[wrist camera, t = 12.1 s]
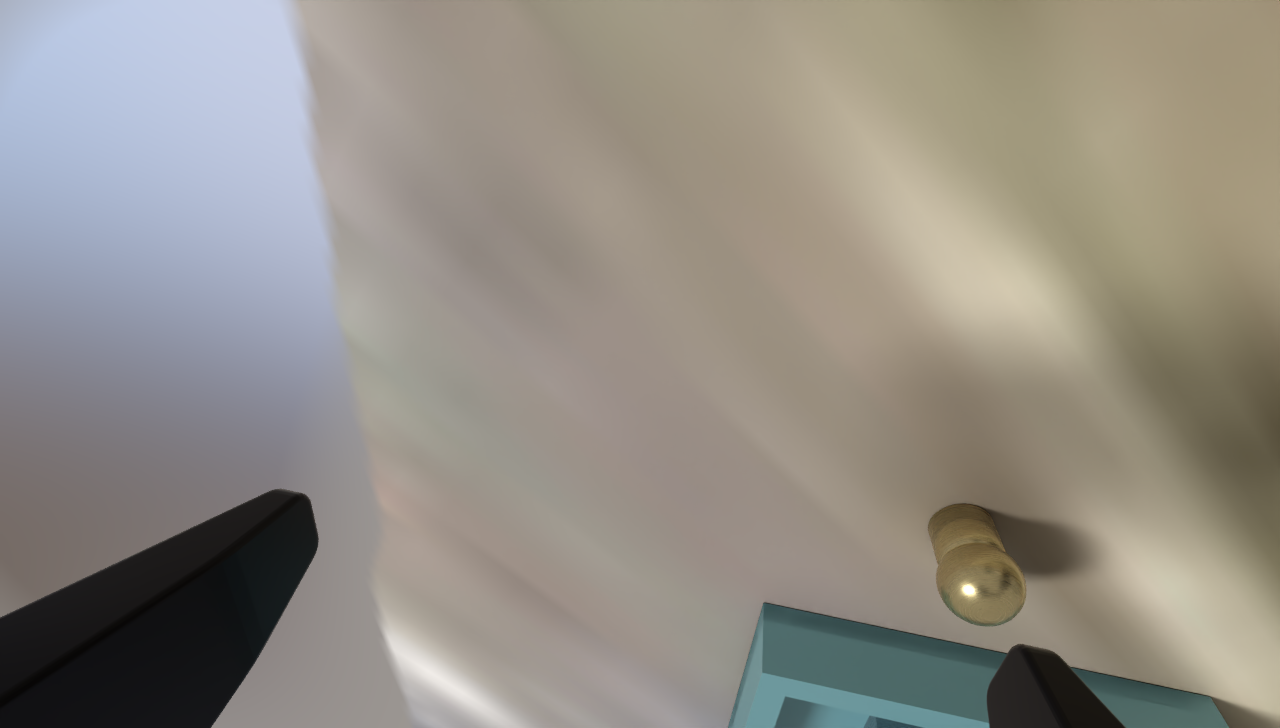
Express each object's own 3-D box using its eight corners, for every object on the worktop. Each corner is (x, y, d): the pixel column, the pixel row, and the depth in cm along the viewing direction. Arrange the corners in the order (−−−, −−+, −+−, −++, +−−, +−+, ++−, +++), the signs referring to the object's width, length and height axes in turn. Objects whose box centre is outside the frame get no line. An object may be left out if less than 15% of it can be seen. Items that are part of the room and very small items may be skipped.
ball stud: (1012, 507, 21) (1053, 596, 18) (984, 559, 22) (1018, 652, 19) (935, 493, 21) (962, 578, 18) (912, 545, 22) (934, 633, 19)
